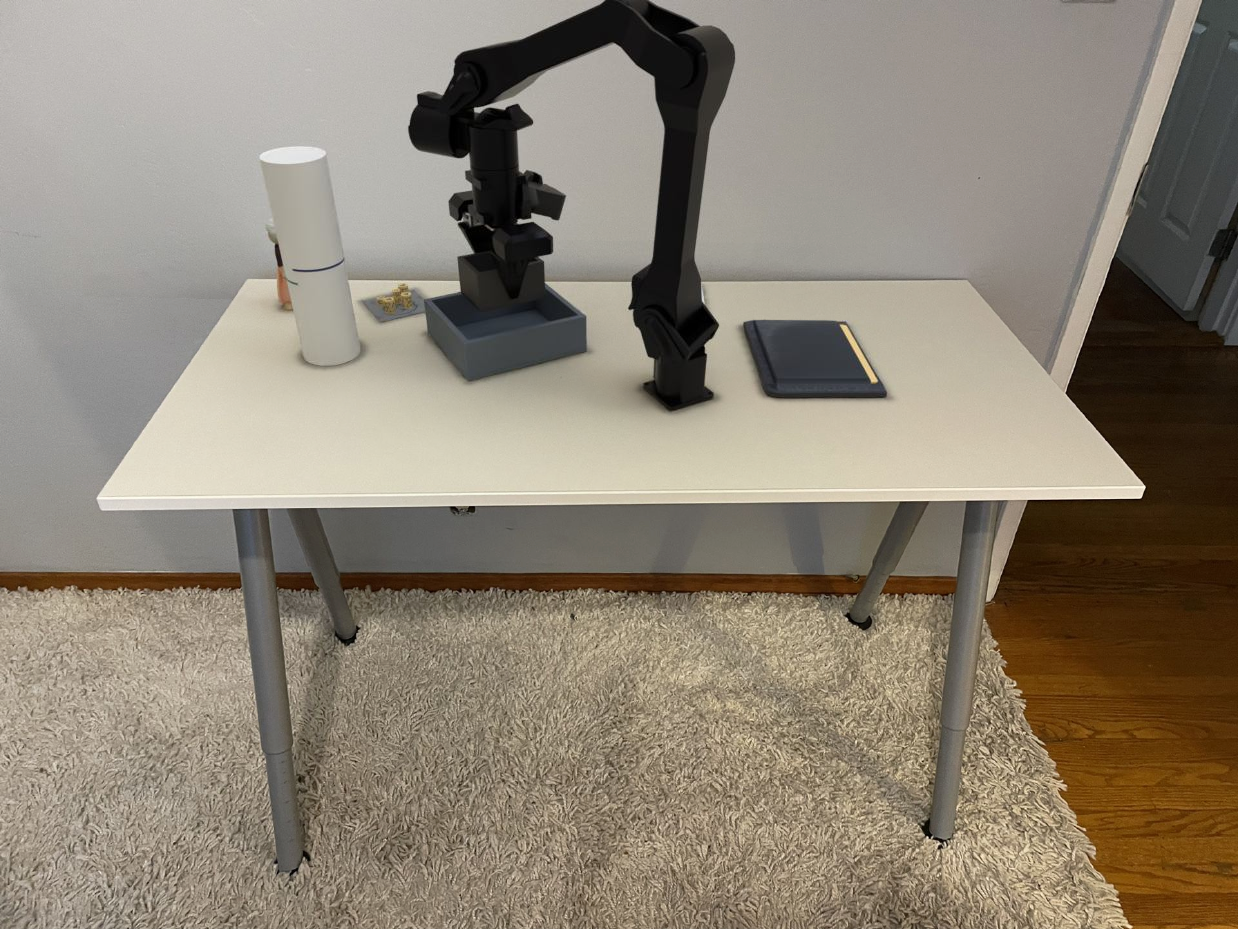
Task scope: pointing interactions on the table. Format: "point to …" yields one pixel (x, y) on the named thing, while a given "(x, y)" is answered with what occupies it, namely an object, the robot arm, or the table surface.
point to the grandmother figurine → (279, 268)
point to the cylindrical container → (312, 252)
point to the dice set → (396, 304)
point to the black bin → (497, 282)
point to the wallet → (811, 359)
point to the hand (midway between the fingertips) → (502, 288)
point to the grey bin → (504, 333)
